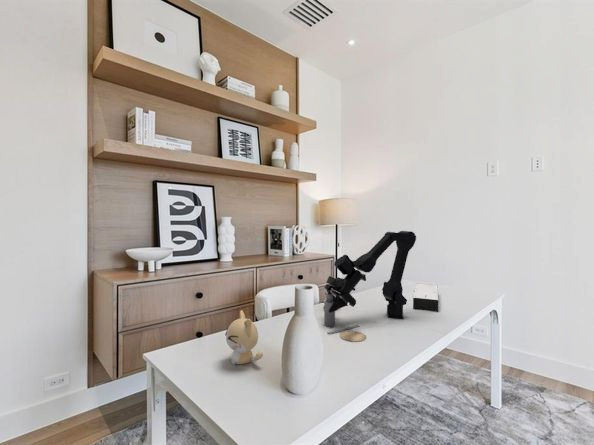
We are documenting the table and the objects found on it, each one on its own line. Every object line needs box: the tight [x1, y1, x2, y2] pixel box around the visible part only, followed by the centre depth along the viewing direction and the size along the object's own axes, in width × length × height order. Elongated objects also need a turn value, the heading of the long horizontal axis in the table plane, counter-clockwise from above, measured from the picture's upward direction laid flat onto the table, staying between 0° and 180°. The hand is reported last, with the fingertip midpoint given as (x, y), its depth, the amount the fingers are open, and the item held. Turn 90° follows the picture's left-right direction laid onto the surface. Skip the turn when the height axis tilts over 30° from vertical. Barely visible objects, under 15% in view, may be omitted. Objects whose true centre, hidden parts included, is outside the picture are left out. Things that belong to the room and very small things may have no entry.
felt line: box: [327, 324, 361, 336], centre depth 127 cm, size 16×2×1 cm, turn 123°
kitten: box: [225, 309, 264, 366], centre depth 100 cm, size 15×10×15 cm
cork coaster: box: [339, 330, 367, 343], centre depth 121 cm, size 10×10×1 cm
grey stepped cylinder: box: [323, 293, 336, 328], centre depth 132 cm, size 4×4×13 cm
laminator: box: [412, 283, 439, 313], centre depth 168 cm, size 34×12×6 cm, turn 157°
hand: (326, 310), depth 132 cm, fingers closed on grey stepped cylinder, 4 cm apart
